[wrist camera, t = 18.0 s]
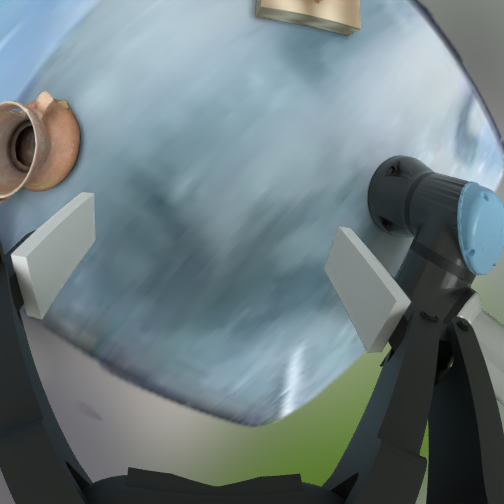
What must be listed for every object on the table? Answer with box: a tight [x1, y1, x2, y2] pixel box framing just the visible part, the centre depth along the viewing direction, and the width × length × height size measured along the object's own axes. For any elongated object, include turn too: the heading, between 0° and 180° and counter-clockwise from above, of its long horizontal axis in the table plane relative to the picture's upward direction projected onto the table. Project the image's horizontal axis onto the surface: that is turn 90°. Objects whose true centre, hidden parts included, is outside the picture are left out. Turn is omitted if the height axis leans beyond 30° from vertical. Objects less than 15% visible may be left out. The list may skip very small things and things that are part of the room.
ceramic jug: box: [0, 91, 80, 203], centre depth 29 cm, size 18×14×14 cm
